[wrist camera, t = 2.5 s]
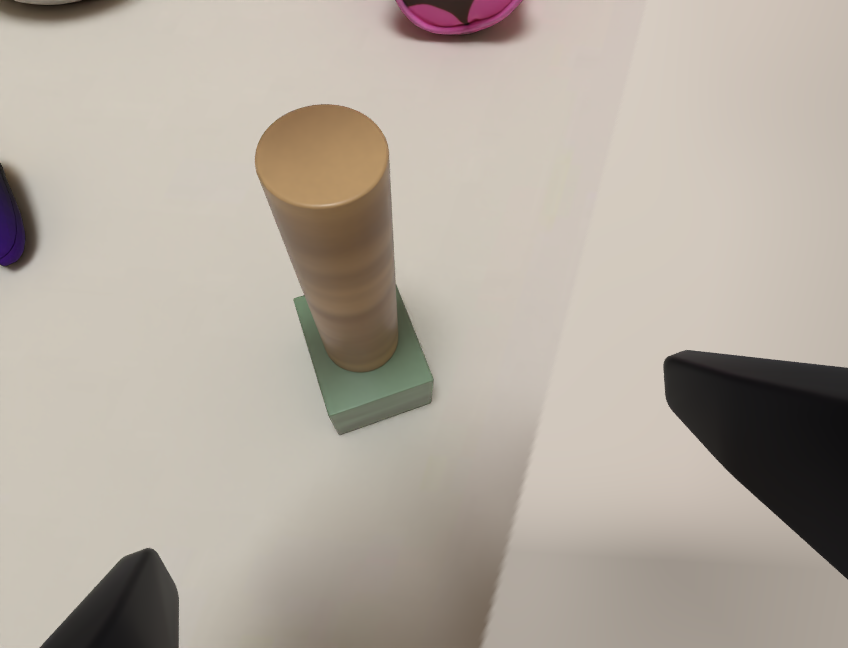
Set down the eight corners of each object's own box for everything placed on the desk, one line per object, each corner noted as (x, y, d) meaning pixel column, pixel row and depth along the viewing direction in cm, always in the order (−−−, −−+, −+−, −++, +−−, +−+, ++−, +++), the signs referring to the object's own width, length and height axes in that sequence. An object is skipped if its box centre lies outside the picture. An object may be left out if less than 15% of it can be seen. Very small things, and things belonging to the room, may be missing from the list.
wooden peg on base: (431, 402, 22) (454, 220, 11) (339, 435, 22) (254, 279, 10) (392, 301, 24) (375, 51, 13) (306, 329, 24) (202, 92, 12)
